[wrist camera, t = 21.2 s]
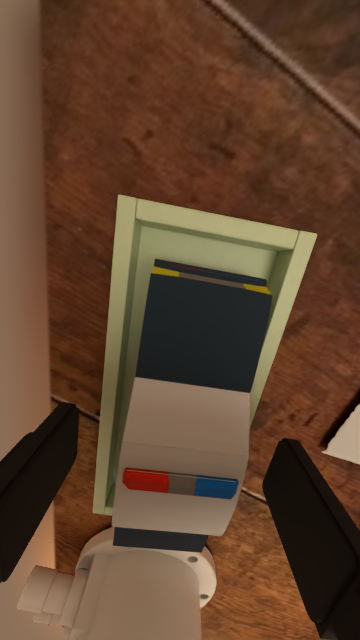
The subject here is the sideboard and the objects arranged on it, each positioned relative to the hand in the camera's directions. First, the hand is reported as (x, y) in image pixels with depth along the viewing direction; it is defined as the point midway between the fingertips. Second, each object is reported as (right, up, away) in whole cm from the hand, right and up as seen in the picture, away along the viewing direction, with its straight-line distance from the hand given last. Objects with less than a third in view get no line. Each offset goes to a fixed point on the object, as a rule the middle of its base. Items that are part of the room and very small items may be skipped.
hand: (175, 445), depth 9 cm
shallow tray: (0, +2, +4) cm, 4 cm away
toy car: (0, +1, +3) cm, 4 cm away
